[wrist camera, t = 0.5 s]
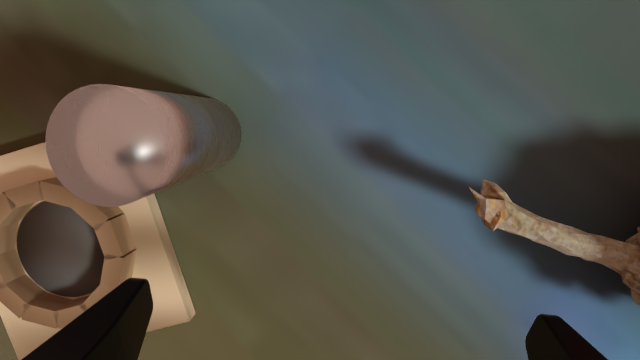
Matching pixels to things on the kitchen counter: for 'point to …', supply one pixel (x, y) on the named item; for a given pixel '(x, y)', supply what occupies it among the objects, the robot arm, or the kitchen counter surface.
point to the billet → (136, 141)
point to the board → (75, 253)
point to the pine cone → (560, 235)
